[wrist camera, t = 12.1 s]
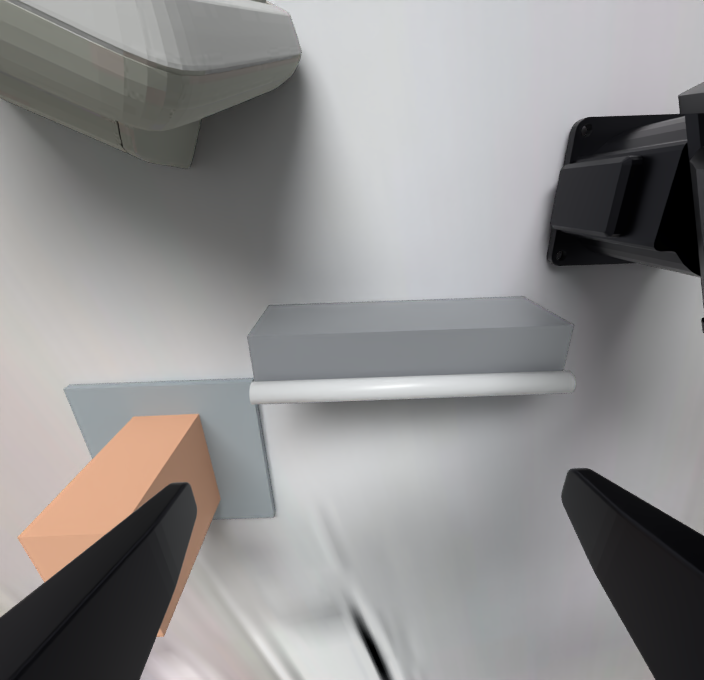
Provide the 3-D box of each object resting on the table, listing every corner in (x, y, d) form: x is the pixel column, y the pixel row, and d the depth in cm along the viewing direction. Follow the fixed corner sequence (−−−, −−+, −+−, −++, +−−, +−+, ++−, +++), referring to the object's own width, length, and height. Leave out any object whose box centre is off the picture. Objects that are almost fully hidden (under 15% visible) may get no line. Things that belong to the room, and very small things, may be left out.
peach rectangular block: (198, 413, 21) (118, 532, 14) (220, 498, 24) (164, 636, 16) (133, 416, 21) (17, 537, 14) (162, 501, 24) (79, 639, 16)
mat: (253, 378, 21) (251, 382, 20) (275, 511, 25) (273, 517, 24) (69, 384, 21) (63, 389, 20) (123, 516, 25) (119, 522, 24)
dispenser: (523, 296, 19) (589, 333, 14) (515, 346, 20) (572, 397, 15) (268, 305, 19) (240, 345, 14) (275, 354, 20) (251, 409, 15)
